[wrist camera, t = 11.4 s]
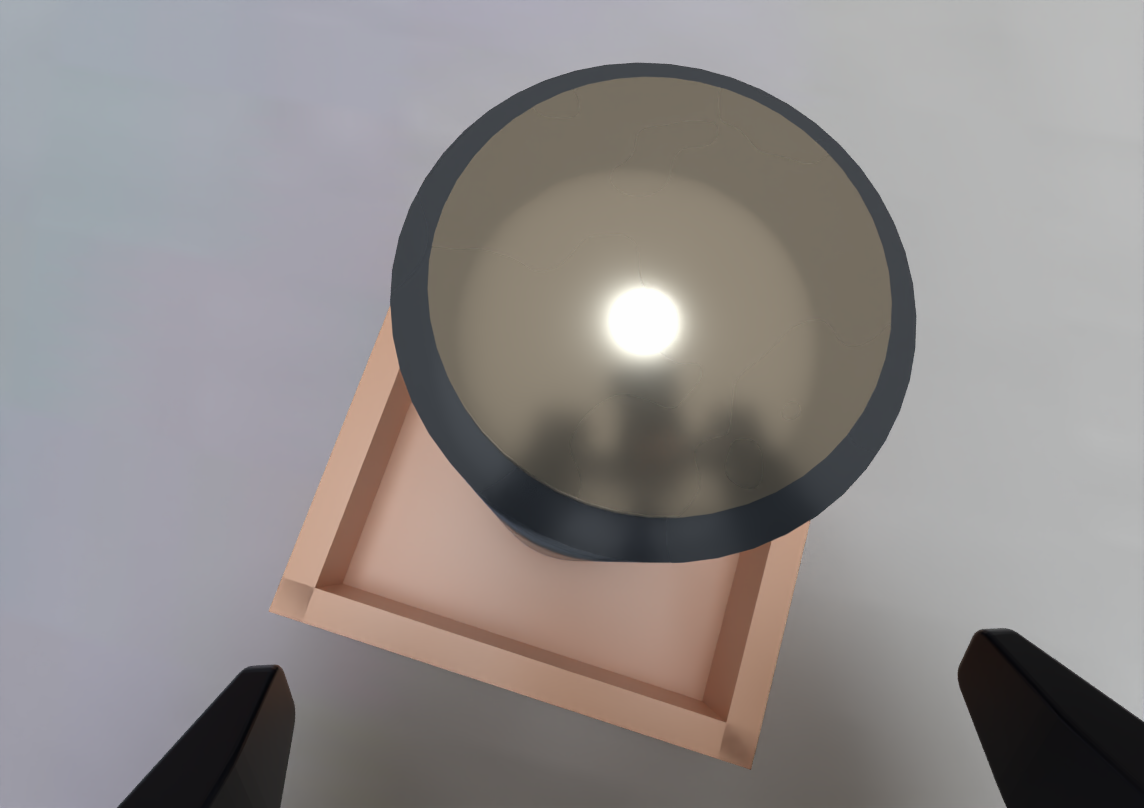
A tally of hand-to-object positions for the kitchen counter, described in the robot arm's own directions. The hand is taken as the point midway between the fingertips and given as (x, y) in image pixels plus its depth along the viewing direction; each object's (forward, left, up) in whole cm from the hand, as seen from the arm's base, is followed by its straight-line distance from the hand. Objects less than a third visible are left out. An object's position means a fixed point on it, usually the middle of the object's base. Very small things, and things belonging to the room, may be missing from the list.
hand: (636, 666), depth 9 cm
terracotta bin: (+4, +1, -11) cm, 11 cm away
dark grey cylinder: (+4, +1, -10) cm, 11 cm away
